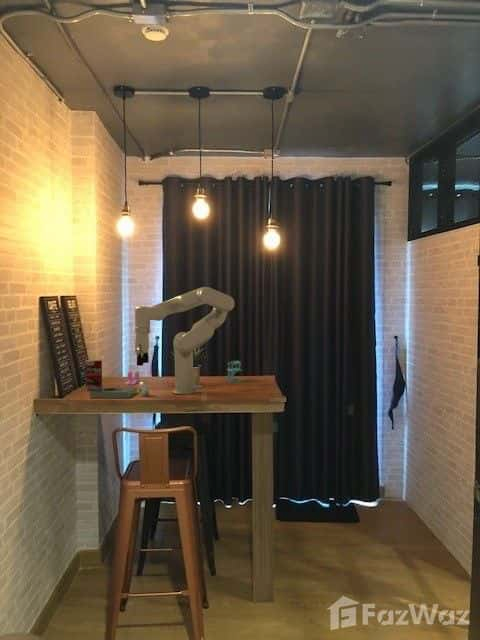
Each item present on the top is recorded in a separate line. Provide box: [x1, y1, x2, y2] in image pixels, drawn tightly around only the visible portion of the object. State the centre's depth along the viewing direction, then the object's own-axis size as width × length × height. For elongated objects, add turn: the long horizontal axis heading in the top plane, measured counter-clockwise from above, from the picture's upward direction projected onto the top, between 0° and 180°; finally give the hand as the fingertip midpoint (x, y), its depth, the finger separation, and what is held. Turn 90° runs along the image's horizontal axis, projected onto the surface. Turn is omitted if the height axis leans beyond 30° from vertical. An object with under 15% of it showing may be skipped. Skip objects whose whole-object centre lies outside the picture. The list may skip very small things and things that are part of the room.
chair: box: [226, 360, 244, 383], centre depth 302 cm, size 8×8×12 cm
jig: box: [89, 386, 138, 399], centre depth 265 cm, size 20×14×3 cm
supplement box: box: [85, 359, 103, 391], centre depth 283 cm, size 9×5×16 cm, turn 105°
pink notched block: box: [124, 370, 140, 387], centre depth 297 cm, size 13×6×7 cm, turn 177°
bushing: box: [138, 380, 150, 397], centre depth 263 cm, size 5×5×7 cm
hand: (142, 364), depth 262 cm, fingers open, 9 cm apart
